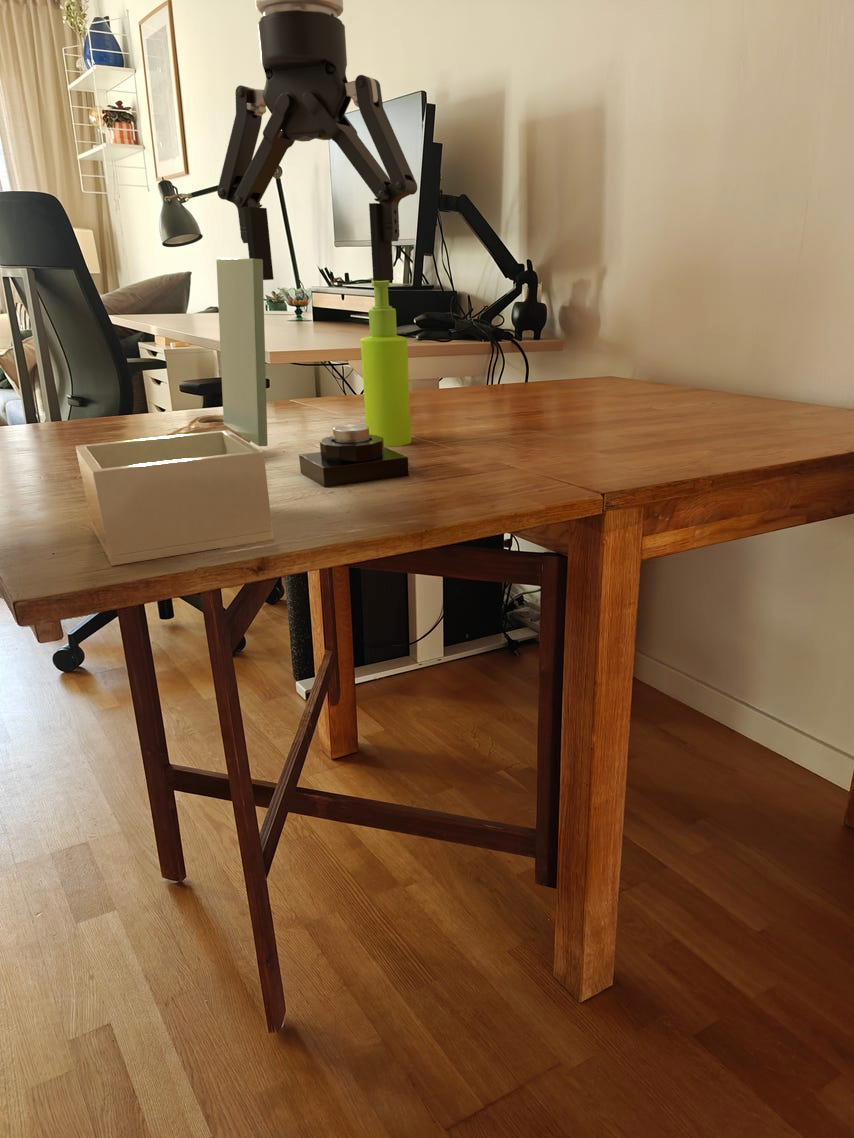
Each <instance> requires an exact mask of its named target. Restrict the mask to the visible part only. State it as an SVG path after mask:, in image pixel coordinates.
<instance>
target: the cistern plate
mask: <svg viewBox="0 0 854 1138" xmlns="http://www.w3.org/2000/svg"><path fill="white" fill-rule="evenodd" d="M369 436H370V441H369V442H366V443H358V444H339V443H334V437H333V435H330V436H327V437H323V438H322V439H321V440H320V441H319V448H320V449H319V450H320V451H316V452H309V453H301V454H300V453H299V454H298V459H299V460H298V461H299V469H300V474H301V475H303V476H305V477H306V478H307V479H310V480H311V481H313V482H315V483H316V484H318V485H319V486H321V487H323V488H324V489H326V488H327V489H328V488H334V487H335V488H336V487H340V486H348V485H355V484H362V483H369V482H376V481H383V480H391V479H398V478H405V477H410V473H409V457H408V456H406V455H403V454H402V453H399V452H397V451H394V450H392V449H390V448H389V447H384V441H383V438H382V437H380V436H377V435H370V434H369Z"/></svg>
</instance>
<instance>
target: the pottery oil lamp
mask: <svg viewBox="0 0 854 1138" xmlns="http://www.w3.org/2000/svg"><path fill="white" fill-rule="evenodd" d="M223 430H229V431H230V432H232V433H234V434H235V435H237V436H238V437H240V438H242V439H243V440H245V441H247V442H248V443H250V444H251V443H252V442H251V441H250V440H248V439H246V438H245V437H243V436H241V435H240V434H238V433H236V432H235V431H233V430H232V429H230V428H228V427H227V426H225V425H224V418H223V414H205V415H200V416H197V417H195V418H193V419H192V420H190V421H189V422H188V423H187V425H186V426H183V427H180V428H177V429H175V430H173V431H171V432H170V433H167V434H166V435H164V436H163V437H165V436H175V435H185V434H194V433H204V432H214V431H223Z"/></svg>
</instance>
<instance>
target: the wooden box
mask: <svg viewBox="0 0 854 1138" xmlns="http://www.w3.org/2000/svg"><path fill="white" fill-rule="evenodd" d="M164 436H165V437H164ZM164 436H157V437H147V438H138V439H128V440H118V441H110V442H100V443H99V442H98V443H89V444H80V445H75V451H76V456H77V460H78V461H77V462H78V467H79V471H80V476H81V481H82V486H83V490H84V491H83V492H84V496H85V501H86V506H87V509H88V514H89V519H90V524H91V525H90V526H91V529H92V531H93V533H94V536H95V537H96V539H97V541H98V543H99V545H100V547H101V548H102V550H103V552H104V554H105V556H106V559H107V560H108V562H109V563H110V566H111V567H114V566H120V565H126V564H132V563H140V562H145V561H151V560H156V559H164V558H168V557H176V556H181V555H188V554H193V553H199V552H204V551H205V552H206V551H211V550H217V549H222V548H228V547H233V546H234V547H235V546H239V545H246V544H253V543H257V542H258V543H259V542H264V541H269V540H271V541H272V540H274V531H273V522H272V514H271V506H270V505H271V504H270V503H271V502H270V496H269V487H268V486H269V485H268V477H267V470H266V468H267V467H266V461H265V453H264V452H265V451H262V450H261V449H259V448H258V447H256V446H254V445H253V444H251V442H250V443H248V442H247V441H245V440H243V439H242V438H240V437H238V436H237V435H235V434H234V433H232V432H230V431H229V430H223V431H214V432H204V433H194V434H185V435H175V436H166V435H164Z"/></svg>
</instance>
